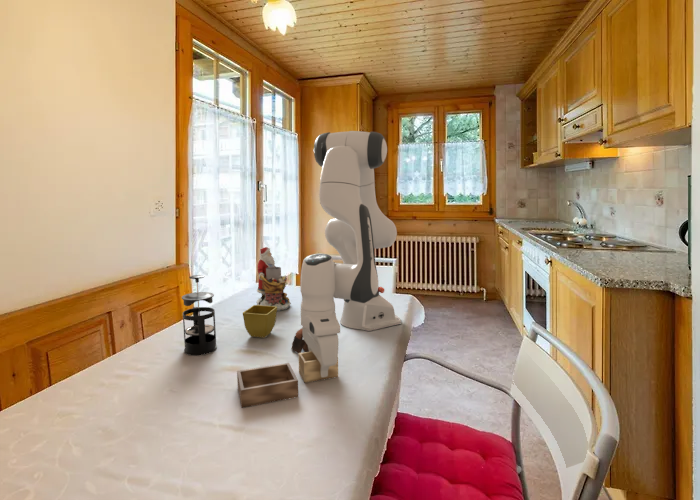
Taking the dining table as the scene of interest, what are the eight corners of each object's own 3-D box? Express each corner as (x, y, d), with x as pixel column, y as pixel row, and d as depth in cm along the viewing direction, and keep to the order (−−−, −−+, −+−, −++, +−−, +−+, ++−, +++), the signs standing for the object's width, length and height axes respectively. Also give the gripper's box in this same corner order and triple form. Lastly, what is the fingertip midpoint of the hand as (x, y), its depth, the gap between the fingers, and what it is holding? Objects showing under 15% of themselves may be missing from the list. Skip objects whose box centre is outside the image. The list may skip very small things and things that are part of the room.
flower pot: (267, 341, 123) (267, 314, 122) (242, 338, 125) (241, 312, 124) (278, 331, 132) (277, 306, 130) (254, 329, 133) (253, 304, 132)
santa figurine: (293, 310, 155) (291, 249, 152) (257, 313, 151) (255, 251, 148) (288, 299, 171) (286, 244, 168) (256, 302, 167) (253, 246, 164)
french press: (220, 352, 114) (216, 277, 111) (186, 359, 110) (181, 281, 106) (212, 339, 124) (209, 270, 121) (181, 344, 120) (177, 273, 116)
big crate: (289, 378, 99) (288, 362, 98) (298, 397, 90) (298, 380, 89) (237, 386, 94) (237, 370, 93) (241, 407, 85) (241, 390, 84)
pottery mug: (287, 346, 120) (298, 322, 122) (314, 357, 122) (325, 333, 124) (291, 352, 109) (303, 325, 110) (320, 364, 110) (332, 337, 112)
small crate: (330, 367, 105) (330, 348, 104) (338, 377, 99) (338, 357, 99) (298, 372, 102) (298, 353, 101) (304, 383, 96) (304, 362, 95)
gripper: (296, 307, 107) (297, 354, 109) (317, 332, 88) (317, 388, 90) (318, 305, 109) (318, 350, 111) (342, 328, 90) (342, 383, 92)
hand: (318, 367), depth 100 cm, fingers open, 8 cm apart
